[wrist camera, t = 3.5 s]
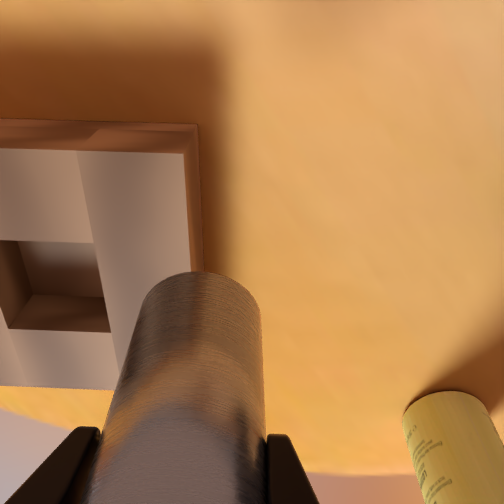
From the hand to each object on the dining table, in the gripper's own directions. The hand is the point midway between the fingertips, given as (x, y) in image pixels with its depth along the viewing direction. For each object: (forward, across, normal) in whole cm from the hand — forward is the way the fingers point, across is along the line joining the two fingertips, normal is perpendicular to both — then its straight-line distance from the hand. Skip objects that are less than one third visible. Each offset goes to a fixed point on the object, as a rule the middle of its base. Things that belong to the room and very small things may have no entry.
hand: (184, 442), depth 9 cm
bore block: (+13, +7, +3) cm, 15 cm away
